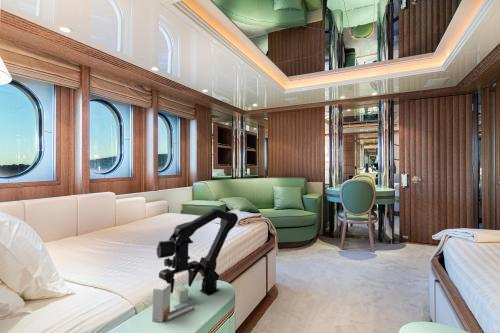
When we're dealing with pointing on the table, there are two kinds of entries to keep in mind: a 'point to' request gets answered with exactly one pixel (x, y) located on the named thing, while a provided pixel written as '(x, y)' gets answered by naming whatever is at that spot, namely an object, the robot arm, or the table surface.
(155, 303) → the skincare box
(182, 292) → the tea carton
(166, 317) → the rail
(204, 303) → the table surface
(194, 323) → the table surface
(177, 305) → the facing pad
